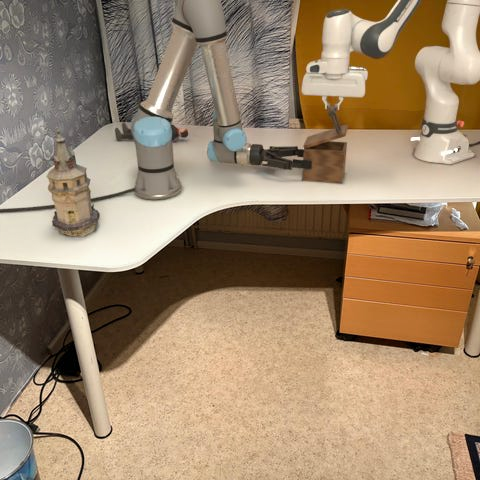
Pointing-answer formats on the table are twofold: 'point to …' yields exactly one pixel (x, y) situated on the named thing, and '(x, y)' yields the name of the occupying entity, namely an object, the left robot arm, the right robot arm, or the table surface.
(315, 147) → the chest
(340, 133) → the lid
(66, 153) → the miniature building
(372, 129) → the table surface
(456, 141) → the right robot arm
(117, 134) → the toy
